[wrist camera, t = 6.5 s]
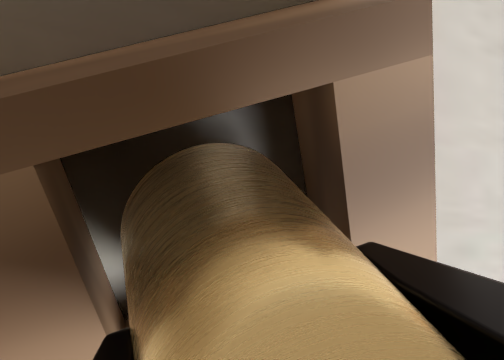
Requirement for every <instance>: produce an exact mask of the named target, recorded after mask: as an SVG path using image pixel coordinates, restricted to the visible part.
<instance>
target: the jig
mask: <svg viewBox="0 0 504 360" xmlns="http://www.w3.org/2000/svg"><path fill="white" fill-rule="evenodd" d="M289 94H292V100H293V107H294V113H295V120H296V126H297V132H298V139H299V145H300V152H301V158H302V165H303V171H304V178H305V184H306V191H307V197H308V198H309V199H310V200H311V201H312V202H313V203H314V204H315V205H316V206H317V207H318V208H319V209H320V210H321V211H322V212H323V213H324V214H325V215H326V216H327V217H328V218H329V220H330V221H331V222H332V223H333V224H334V225H335V226H336V227H337V228H338V229H339V230H340V231H341V232H342V233H343V234H344V235H345V236H346V237H347V238H348V239H349V240H350V241H351V242H352V243H353V244H354V245H355V246H359V245H361V244H364V243H367V242H375V243H378V244H382V245H385V246H388V247H391V248H394V249H397V250H401V251H404V252H407V253H410V254H413V255H417V256H420V257H423V258H426V259H429V260H433V261H436V262H437V248H436V195H435V141H434V87H433V33H432V0H317V1H313V2H308V3H304V4H300V5H296V6H292V7H287V8H283V9H279V10H275V11H271V12H267V13H262V14H258V15H254V16H250V17H246V18H242V19H237V20H233V21H229V22H225V23H221V24H217V25H212V26H208V27H204V28H200V29H196V30H192V31H187V32H183V33H179V34H175V35H171V36H166V37H162V38H158V39H154V40H150V41H146V42H141V43H137V44H133V45H129V46H125V47H121V48H116V49H112V50H108V51H104V52H100V53H96V54H91V55H87V56H83V57H79V58H75V59H71V60H66V61H62V62H58V63H54V64H50V65H45V66H41V67H37V68H33V69H29V70H25V71H20V72H16V73H12V74H8V75H4V76H0V360H93V358H94V356H95V354H96V352H97V350H98V348H99V347H100V345H101V343H102V341H103V339H104V338H105V336H106V335H108V334H110V333H113V332H116V331H119V330H121V329H124V328H130V325H129V319H128V320H124V318H123V315H122V313H121V310H120V308H119V305H118V303H117V300H116V298H115V295H114V293H113V290H112V288H111V285H110V283H109V280H108V278H107V275H106V273H105V270H104V268H103V265H102V263H101V260H100V258H99V255H98V253H97V250H96V248H95V245H94V243H93V240H92V238H91V235H90V233H89V231H88V228H87V226H86V223H85V221H84V218H83V216H82V213H81V211H80V208H79V206H78V203H77V201H76V198H75V196H74V193H73V191H72V188H71V186H70V183H69V181H68V178H67V176H66V173H65V171H64V168H63V166H62V163H61V161H60V158H62V157H66V156H69V155H73V154H76V153H80V152H84V151H87V150H91V149H94V148H98V147H102V146H105V145H109V144H113V143H116V142H120V141H123V140H127V139H131V138H134V137H138V136H141V135H145V134H149V133H152V132H156V131H159V130H163V129H167V128H170V127H174V126H177V125H181V124H185V123H188V122H192V121H195V120H199V119H203V118H206V117H210V116H213V115H217V114H221V113H224V112H228V111H231V110H235V109H239V108H242V107H246V106H250V105H253V104H257V103H260V102H264V101H268V100H271V99H275V98H278V97H282V96H286V95H289Z"/></svg>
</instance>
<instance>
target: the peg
mask: <svg viewBox="0 0 504 360" xmlns="http://www.w3.org/2000/svg"><path fill="white" fill-rule="evenodd" d="M121 245H122V255H123V265H124V275H125V285H126V295H127V305H128V315H129V325H130V333H131V342H132V351H133V360H466V359H465V358H464V357H463V356H462V355H461V354H460V353H459V352H458V351H457V349H456V348H455V347H454V346H453V345H452V344H451V343H450V342H449V341H448V340H447V339H446V338H445V337H444V336H443V335H442V334H441V333H440V332H439V331H438V330H437V329H436V328H435V327H434V326H433V325H432V324H431V323H430V322H429V321H428V320H427V319H426V318H425V317H424V316H423V315H422V314H421V313H420V312H419V311H418V310H417V309H416V308H415V306H414V305H413V304H412V303H411V302H410V301H409V300H408V299H407V298H406V297H405V296H404V295H403V294H402V293H401V292H400V291H399V290H398V289H397V288H396V287H395V286H394V285H393V284H392V283H391V282H390V281H389V280H388V279H387V278H386V277H385V276H384V275H383V274H382V273H381V272H380V271H379V270H378V269H377V268H376V267H375V266H374V265H373V264H372V262H371V261H370V260H369V259H368V258H367V257H366V256H365V255H364V254H363V253H362V252H361V251H360V250H359V249H358V248H357V247H356V246H355V245H354V244H353V243H352V242H351V241H350V240H349V239H348V238H347V237H346V236H345V235H344V234H343V233H342V232H341V231H340V230H339V229H338V228H337V227H336V226H335V225H334V224H333V223H332V222H331V221H330V220H329V218H328V217H327V216H326V215H325V214H324V213H323V212H322V211H321V210H320V209H319V208H318V207H317V206H316V205H315V204H314V203H313V202H312V201H311V200H310V199H309V198H308V197H307V196H306V195H305V194H304V193H303V192H302V191H301V190H300V189H299V188H298V187H297V186H296V185H295V184H294V183H293V182H292V181H291V180H290V179H289V178H288V177H287V175H286V174H285V173H284V172H283V171H282V170H281V169H280V168H279V167H278V166H277V165H276V164H274V163H273V162H272V161H271V160H270V159H269V158H267V157H266V156H264V155H263V154H261V153H259V152H257V151H255V150H253V149H250V148H247V147H244V146H241V145H235V144H229V143H210V144H202V145H197V146H193V147H189V148H187V149H184V150H181V151H179V152H177V153H175V154H173V155H171V156H169V157H167V158H165V159H164V160H162V161H161V162H159V163H158V164H157V165H155V166H154V167H153V168H152V169H151V170H150V171H148V172H147V173H146V175H145V176H144V177H143V178H142V179H141V180H140V181H139V183H138V184H137V185H136V187H135V188H134V190H133V191H132V193H131V195H130V197H129V199H128V201H127V203H126V206H125V209H124V212H123V216H122V222H121Z"/></svg>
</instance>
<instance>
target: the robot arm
mask: <svg viewBox="0 0 504 360" xmlns="http://www.w3.org/2000/svg"><path fill="white" fill-rule="evenodd" d="M356 247H357V248H358V249H359V250H360V251H361V252H362V253H363V254H364V255H365V256H366V257H367V258H368V259H369V260H370V261H371V262H372V264H373V265H374V266H375V267H376V268H377V269H378V270H379V271H380V272H381V273H382V274H383V275H384V276H385V277H386V278H387V279H388V280H389V281H390V282H391V283H392V284H393V285H394V286H395V287H396V288H397V289H398V290H399V291H400V292H401V293H402V294H403V295H404V296H405V297H406V298H407V299H408V300H409V301H410V302H411V303H412V304H413V305H414V306H415V308H416V309H417V310H418V311H419V312H420V313H421V314H422V315H423V316H424V317H425V318H426V319H427V320H428V321H429V322H430V323H431V324H432V325H433V326H434V327H435V328H436V329H437V330H438V331H439V332H440V333H441V334H442V335H443V336H444V337H445V338H446V339H447V340H448V341H449V342H450V343H451V344H452V345H453V346H454V347H455V348H456V349H457V351H458V352H459V353H460V354H461V355H462V356H463V357H464V358H465V359H466V360H504V283H503V282H499V281H496V280H493V279H490V278H487V277H483V276H480V275H477V274H474V273H471V272H468V271H464V270H461V269H458V268H455V267H452V266H448V265H445V264H442V263H439V262H436V261H433V260H429V259H426V258H423V257H420V256H417V255H413V254H410V253H407V252H404V251H401V250H397V249H394V248H391V247H388V246H385V245H382V244H378V243H375V242H367V243H364V244H361V245H359V246H356ZM93 360H133V351H132V342H131V333H130V328H124V329H121V330H119V331H116V332H113V333H110V334H108V335H106V336H105V338H104V339H103V341H102V343H101V345H100V347H99V348H98V350H97V352H96V354H95V356H94V358H93Z"/></svg>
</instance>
